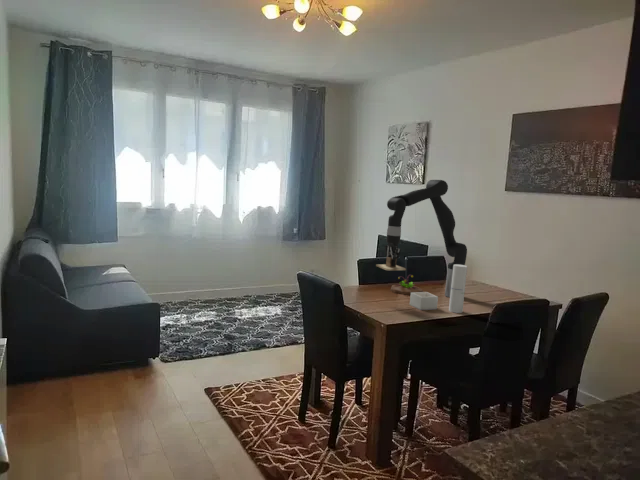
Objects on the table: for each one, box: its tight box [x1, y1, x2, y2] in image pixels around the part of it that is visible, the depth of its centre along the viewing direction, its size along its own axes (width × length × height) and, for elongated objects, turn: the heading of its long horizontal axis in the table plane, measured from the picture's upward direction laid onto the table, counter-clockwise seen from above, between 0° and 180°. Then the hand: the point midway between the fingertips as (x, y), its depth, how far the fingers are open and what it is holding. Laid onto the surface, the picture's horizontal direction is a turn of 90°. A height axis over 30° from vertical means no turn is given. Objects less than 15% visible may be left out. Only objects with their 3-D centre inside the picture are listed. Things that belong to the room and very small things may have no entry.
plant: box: [390, 274, 424, 296], centre depth 290 cm, size 20×20×11 cm
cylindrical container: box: [448, 264, 468, 314], centre depth 249 cm, size 7×7×25 cm
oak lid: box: [375, 256, 407, 271], centre depth 256 cm, size 12×12×6 cm
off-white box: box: [409, 291, 439, 311], centre depth 254 cm, size 11×11×7 cm
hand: (391, 265), depth 256 cm, fingers closed on oak lid, 4 cm apart
